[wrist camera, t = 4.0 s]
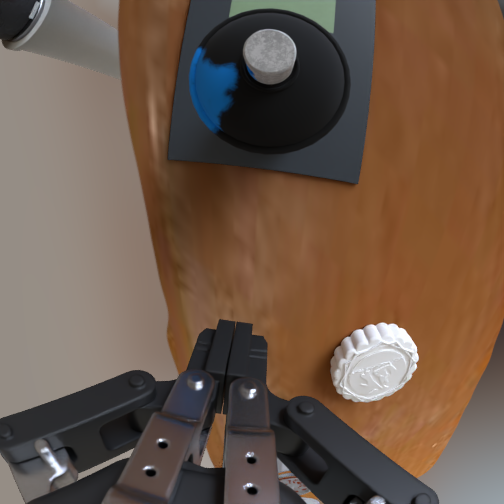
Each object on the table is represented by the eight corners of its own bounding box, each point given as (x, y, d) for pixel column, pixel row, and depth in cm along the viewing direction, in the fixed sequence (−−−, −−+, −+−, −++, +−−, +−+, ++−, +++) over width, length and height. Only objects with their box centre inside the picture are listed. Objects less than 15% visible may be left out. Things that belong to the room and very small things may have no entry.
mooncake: (335, 397, 40) (339, 414, 37) (322, 336, 37) (326, 353, 33) (410, 374, 39) (418, 389, 35) (410, 310, 35) (421, 324, 32)
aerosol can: (294, 63, 26) (327, -46, 7) (322, 136, 29) (407, 124, 10) (217, 89, 28) (137, 13, 9) (245, 162, 30) (203, 189, 11)
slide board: (168, 159, 31) (167, 159, 30) (202, -42, 22) (201, -44, 21) (357, 183, 30) (358, 184, 30) (374, -22, 22) (375, -23, 21)
